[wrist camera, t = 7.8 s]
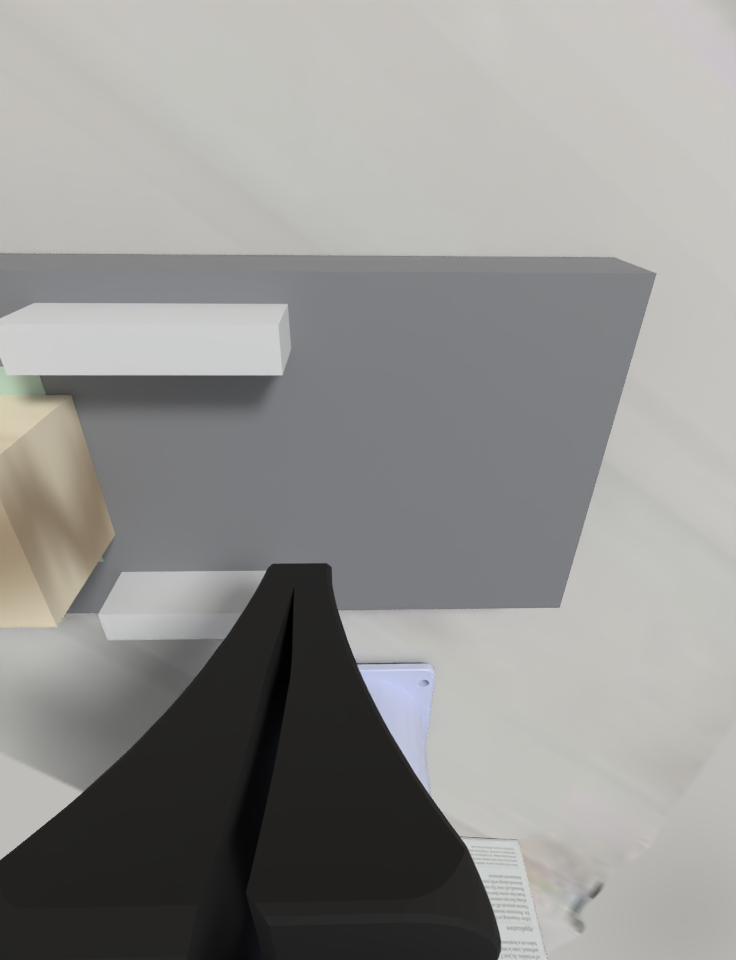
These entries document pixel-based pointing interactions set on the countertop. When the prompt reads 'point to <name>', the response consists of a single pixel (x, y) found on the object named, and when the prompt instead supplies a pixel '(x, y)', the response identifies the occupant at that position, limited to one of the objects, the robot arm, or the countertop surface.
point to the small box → (508, 896)
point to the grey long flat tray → (327, 421)
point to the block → (46, 510)
